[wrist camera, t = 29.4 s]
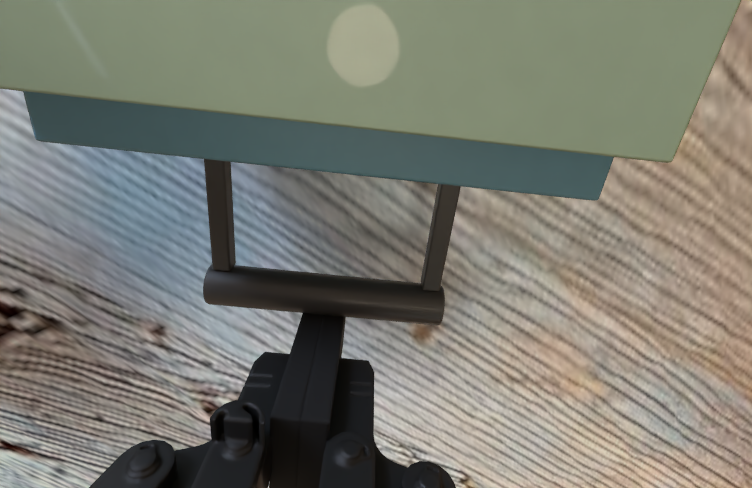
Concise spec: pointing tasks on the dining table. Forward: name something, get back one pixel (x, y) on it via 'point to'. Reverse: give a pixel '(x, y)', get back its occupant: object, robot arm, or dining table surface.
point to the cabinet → (389, 64)
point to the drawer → (327, 154)
